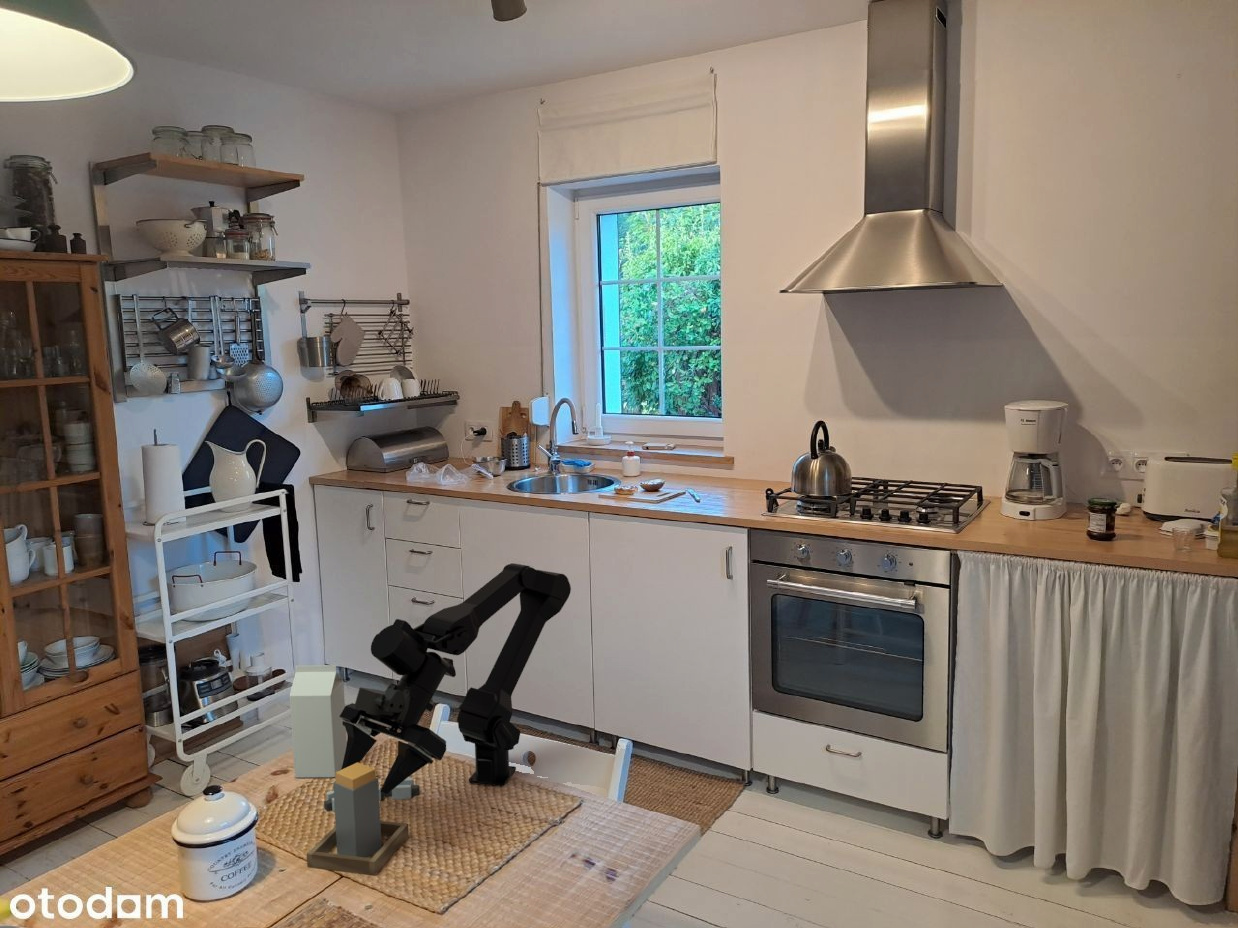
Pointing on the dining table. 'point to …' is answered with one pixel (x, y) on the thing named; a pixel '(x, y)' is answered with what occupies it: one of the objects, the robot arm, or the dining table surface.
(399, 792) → the grey jointed bar
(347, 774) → the grey box with lid
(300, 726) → the milk carton
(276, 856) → the dining table surface
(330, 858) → the brown flat square frame
